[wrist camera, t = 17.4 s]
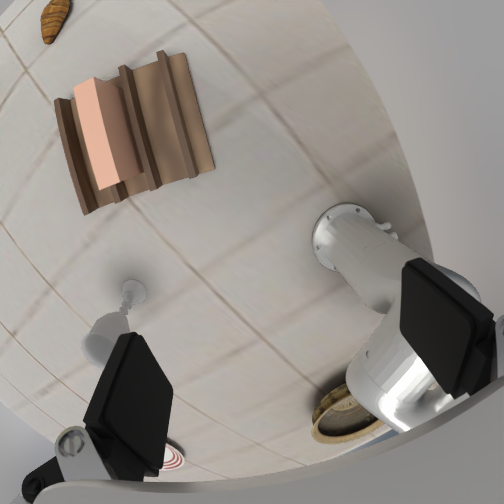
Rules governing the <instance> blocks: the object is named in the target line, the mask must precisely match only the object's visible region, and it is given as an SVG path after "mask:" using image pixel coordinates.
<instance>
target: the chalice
mask: <svg viewBox="0 0 504 504" xmlns="http://www.w3.org/2000/svg"><path fill="white" fill-rule="evenodd" d="M122 295H123V298H124V300H125V301H123V303H122V305H123V307H121V308H120V312H113V313H109V314H106V315H104V316H103V317H101V318H99V319H98V320H97V321H96V323H95V324H94V326H93V328H92V329H91V331H90V333H89V334H86V335H85V336H83V337H82V339H81V350H82V352H83V354H84V356H85V357H86V359H87V360H88V361H89V362H90V363H91V364H93V365H94V366H95V367H97V368H99V369H101V370H104V368H105V366H106V363H107V361H108V359H109V357H110V354H111V352H112V350H113V348H114V346H115V344H116V341H117V339H118V337H119V336H120V335H121V334H125V333H130V329H129V325H128V320H127V318H126V316H125V315H127V314H128V309H131V307H132V306H131V305H136V304H139V303H141V302H142V301H144V300H145V298H146V295H147V292H146V289H145V287H144V286H143V284H142V283H140V282H139V281H136V280H127V281H126V282H124V284H123V286H122Z"/></svg>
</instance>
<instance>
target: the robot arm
mask: <svg viewBox="0 0 504 504" xmlns="http://www.w3.org/2000/svg"><path fill="white" fill-rule="evenodd" d="M356 209H357V210H356ZM327 216H329V217H328V218H327ZM389 229H391V224H390V222H385V223H382V224H378V223H376V222H375V221H374V218H373V217H372V216H371V214H370V213H369V212H368V211H367V210H366V209H364V208H362V207H360V206H358V205H355V204H340V205H337V206H335V207H332V208H331V209H329V210H328V211H326V212H325V213H324V214H323V215H322V216H321V217H320V219H319V220H318V222H317V224H316V226H315V228H314V231H313V235H312V246H313V250H314V253H315V255H316V257H317V259H318V260H319V261H320V263H321V264H322V265H324V266H325V267H326V268H328V269H330V270H333V271H339V272H340V273H341V275H342V276H343V277H344V278H345V280H346V281H347V282H348V283H349V285H350V286H351V287H352V288H353V290H354V291H355V292H356V294H357V295H358V296H359V297H360V299H361V300H362V301H363V302H364V304H365V305H366V306H368V307H369V308H370V309H372V310H373V311H376V312H378V313H381V314H386V316H385V317H384V319H383V320H382V322H381V324H380V325H379V326H378V328H377V329H376V330H375V332H374V333H373V334H372V335H371V337H370V338H369V339H368V341H367V342H366V343H365V344H364V346H363V347H362V348H361V350H360V351H359V352H358V353H357V354H356V356H355V357H354V358H353V360H352V361H351V363H350V364H349V366H348V368H347V372H346V383H347V386H348V389H349V391H350V392H351V394H352V395H353V397H354V398H355V399H356V400H357V401H358V402H359V403H360V404H361V405H362V406H363V407H364V408H365V409H367V410H368V411H369V412H370V413H372V414H373V415H374V416H376V417H377V418H378V419H380V420H381V421H382V422H384V423H385V424H387V425H388V426H390V427H391V428H392V429H394V430H395V431H397V432H398V433H399V435H397V436H395V437H392V438H390V439H387V440H385V441H383V442H380V443H377V444H375V445H372V446H370V447H367V448H364V449H361V450H359V451H356V452H353V453H350V454H347V455H344V456H341V457H338V458H334V459H331V460H327V461H324V462H320V463H316V464H313V465H309V466H305V467H300V468H296V469H292V470H287V471H282V472H277V473H271V474H266V475H259V476H253V477H246V478H238V479H229V480H218V481H204V482H143V479H144V476H147V477H158V475H159V469H162V468H163V464H164V455H165V448H166V440H167V433H168V426H169V419H170V412H171V406H172V399H173V388H172V385H171V384H170V382H169V380H168V379H167V377H166V376H165V374H164V372H163V371H162V369H161V367H160V366H159V364H158V362H157V361H156V359H155V357H154V356H153V354H152V352H151V350H150V348H149V347H148V345H147V343H146V341H145V340H144V338H143V336H142V335H138V334H137V333H136V332H130V333H125V334H121V335H120V336H119V337H118V339H117V341H116V344H115V346H114V348H113V350H112V352H111V354H110V357H109V359H108V361H107V363H106V366H105V368H104V370H103V372H102V375H101V377H100V379H99V382H98V384H97V386H96V389H95V391H94V394H93V396H92V399H91V401H90V404H89V406H88V409H87V411H86V414H85V416H84V419H83V422H84V423H85V424H86V426H85V429H84V428H82V427H80V426H73V427H69V428H67V429H65V430H64V431H63V432H62V433H61V434H60V435H59V436H58V438H57V440H56V442H55V453H56V456H55V457H53V458H52V459H51V460H49V461H48V462H46V463H44V464H43V465H41V466H40V467H38V468H37V469H35V470H34V471H32V472H31V473H29V474H28V475H27V476H26V477H25V479H24V480H23V484H22V495H21V494H18V496H17V497H16V498H15V499H14V500H13V501H12V503H11V504H504V315H502V316H501V317H499V318H498V319H497V321H496V322H495V321H494V320H493V316H494V314H493V313H492V312H491V311H490V310H489V309H487V308H486V307H485V306H484V305H483V304H482V303H481V298H480V295H479V293H478V291H477V290H476V288H475V287H474V286H473V285H472V283H470V282H469V281H468V280H467V279H466V278H464V277H463V276H461V275H459V274H458V273H456V272H454V271H452V270H449V269H447V268H445V267H442V266H440V265H438V264H435V263H433V262H431V261H429V260H427V259H426V258H424V257H422V256H421V255H419V254H417V253H416V252H414V251H413V250H411V249H410V248H408V247H407V246H405V245H404V244H402V243H401V242H399V241H398V235H397V233H396V232H391V233H388V234H387V233H386V232H384V231H385V230H389ZM317 245H318V246H317ZM316 246H317V247H316ZM435 381H437V382H438V384H439V385H438V386H437V387H436V388H435V389H434V390H428V389H429V388H430V387H431V386H432V384H433V383H434V382H435Z"/></svg>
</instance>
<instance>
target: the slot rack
mask: <svg viewBox="0 0 504 504" xmlns="http://www.w3.org/2000/svg"><path fill="white" fill-rule="evenodd" d="M156 53H157V57H158V61H156V62H153V63H150V64H148V65H145V66H142V67H140V68H137V69H135V70H131V69H130V68H128V67H127V66H126V65H122V66H120V67H118V69H119V74H120V76H118V77H116V78H113V79H111V80H109V81H107V82H106V83H109V84H111V85H113V86H115V87H118V88H120V89H122V90H123V92H124V97H125V101H126V105H127V109H128V113H129V117H130V121H131V125H132V129H133V133H134V137H135V140H136V144H137V148H138V151H139V155H140V158H141V162H142V165H143V169H144V173H141V174H138V175H136V176H133V177H131V178H128V179H126V180H124V181H121V182H119V183H116V184H113V185H111V186H108V187H106V188H104V189H101V190H99V188H98V185H97V181H96V178H95V175H94V172H93V168H92V165H91V161H90V158H89V154H88V151H87V147H86V143H85V139H84V135H83V131H82V127H81V123H80V118H79V114H78V109H77V104H76V99H75V98H73V99H71V100H68V99H62V98H57V99H56V100H54V105H55V112H56V117H57V122H58V127H59V132H60V136H61V140H62V145H63V149H64V153H65V156H66V160H67V164H68V168H69V171H70V175H71V178H72V181H73V185H74V188H75V191H76V194H77V197H78V200H79V203H80V206H81V209H82V212H83V214H84V216H85V215H87V214H89V213H91V212H93V211H94V210H96V209H98V208H100V207H102V206H105V205H107V204H110V203H113V202H115V204H116V203H118V202H121V201H123V200H124V199H126V198H127V197H129V196H132V195H135V194H138V193H140V192H143V191H146V190H149V189H150V191H153V190H156V189H158V188H159V187H161V186H162V185H164V184H168V183H171V182H174V181H177V180H180V179H184V178H187V177H189V179H191V178H194V177H197V176H198V174H200V173H204V172H207V171H211V170H215V166H214V163H213V159H212V155H211V152H210V148H209V144H208V141H207V137H206V133H205V129H204V126H203V122H202V118H201V114H200V111H199V107H198V103H197V99H196V95H195V92H194V88H193V84H192V80H191V76H190V72H189V68H188V64H187V61H186V57H185V54H184V53H180V54H177V55H174V56H171V57H168V56H167V55H166V53H165V52H164V51H163V50H161V51H158V52H156Z"/></svg>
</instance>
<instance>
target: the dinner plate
mask: <svg viewBox="0 0 504 504" xmlns="http://www.w3.org/2000/svg"><path fill="white" fill-rule="evenodd" d="M184 461H185V460H184V457H183V455H182V454H181V453H180V452H179V451H178V450H177V449H175V448H174V447H172V446H171V445H169V444H167V443H166V448H165V455H164V464H163V468H162V469H159V470H173V469H177V468H179V467H181V466H182V465H183V464H184Z"/></svg>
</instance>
